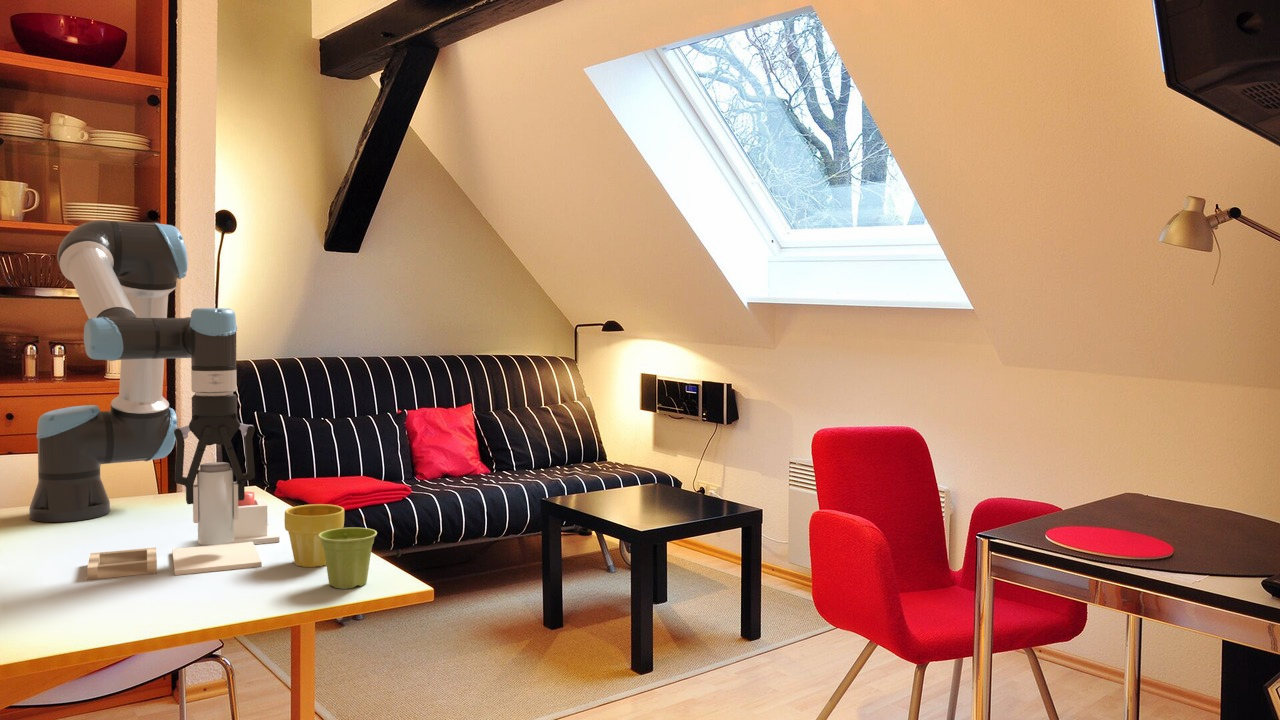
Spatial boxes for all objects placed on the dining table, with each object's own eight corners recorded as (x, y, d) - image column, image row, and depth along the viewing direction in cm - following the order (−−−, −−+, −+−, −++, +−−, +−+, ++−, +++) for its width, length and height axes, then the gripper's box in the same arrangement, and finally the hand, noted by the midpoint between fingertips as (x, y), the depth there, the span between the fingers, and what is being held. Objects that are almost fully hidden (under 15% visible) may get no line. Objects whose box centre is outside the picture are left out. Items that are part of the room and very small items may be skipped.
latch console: (209, 534, 197) (208, 500, 197) (272, 528, 203) (272, 495, 202) (212, 548, 187) (212, 511, 186) (279, 542, 192) (279, 506, 192)
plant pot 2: (326, 576, 169) (325, 527, 169) (381, 576, 170) (381, 526, 169) (312, 592, 160) (312, 540, 159) (371, 592, 161) (371, 540, 160)
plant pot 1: (356, 558, 181) (356, 506, 180) (320, 572, 171) (320, 517, 171) (309, 552, 184) (309, 501, 184) (272, 566, 175) (271, 512, 174)
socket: (90, 564, 174) (90, 553, 174) (156, 558, 179) (156, 547, 179) (87, 579, 165) (87, 568, 165) (156, 572, 169) (156, 561, 169)
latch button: (232, 517, 195) (231, 492, 195) (253, 515, 197) (253, 490, 197) (233, 521, 192) (233, 496, 191) (255, 519, 193) (255, 494, 193)
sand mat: (172, 553, 182) (172, 548, 182) (252, 545, 189) (252, 541, 189) (174, 575, 168) (174, 570, 168) (261, 566, 175) (261, 562, 174)
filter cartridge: (196, 538, 179) (195, 463, 178) (231, 535, 182) (231, 460, 181) (199, 546, 174) (198, 468, 173) (235, 542, 177) (234, 466, 176)
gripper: (156, 396, 169) (158, 528, 170) (272, 393, 178) (273, 519, 179) (155, 393, 176) (157, 520, 177) (267, 390, 184) (268, 511, 186)
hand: (215, 519), depth 178 cm, fingers closed on filter cartridge, 6 cm apart
